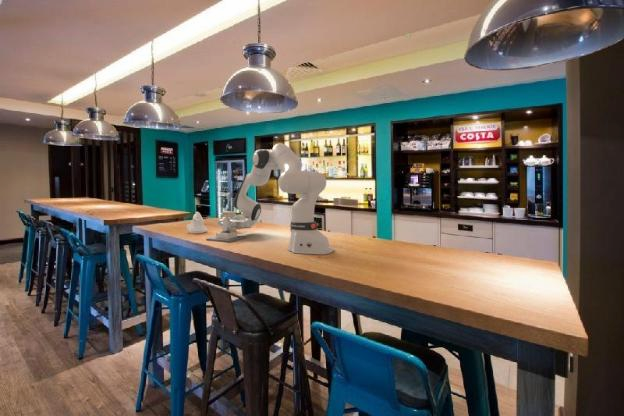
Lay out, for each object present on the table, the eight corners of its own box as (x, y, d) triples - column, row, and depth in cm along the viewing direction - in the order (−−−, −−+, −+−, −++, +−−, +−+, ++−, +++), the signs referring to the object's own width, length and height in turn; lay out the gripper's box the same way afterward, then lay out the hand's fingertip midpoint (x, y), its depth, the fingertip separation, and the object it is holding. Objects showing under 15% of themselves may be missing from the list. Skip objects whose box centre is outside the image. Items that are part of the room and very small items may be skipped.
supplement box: (236, 230, 235) (236, 211, 234) (234, 232, 231) (234, 212, 229) (224, 230, 236) (224, 211, 235) (221, 231, 231) (221, 211, 230)
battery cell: (232, 234, 205) (231, 216, 204) (227, 235, 201) (227, 216, 200) (225, 233, 207) (225, 215, 206) (221, 235, 203) (220, 216, 202)
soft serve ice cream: (210, 232, 236) (214, 212, 233) (198, 238, 222) (202, 217, 219) (194, 227, 238) (197, 207, 235) (181, 232, 224) (184, 211, 221)
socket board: (246, 237, 209) (246, 231, 208) (229, 242, 194) (229, 235, 193) (223, 235, 215) (223, 229, 214) (206, 240, 200) (206, 233, 200)
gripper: (225, 215, 219) (210, 218, 206) (253, 217, 211) (240, 220, 199) (225, 226, 220) (210, 228, 207) (253, 228, 212) (240, 231, 199)
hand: (225, 224), depth 203 cm, fingers closed on battery cell, 4 cm apart
